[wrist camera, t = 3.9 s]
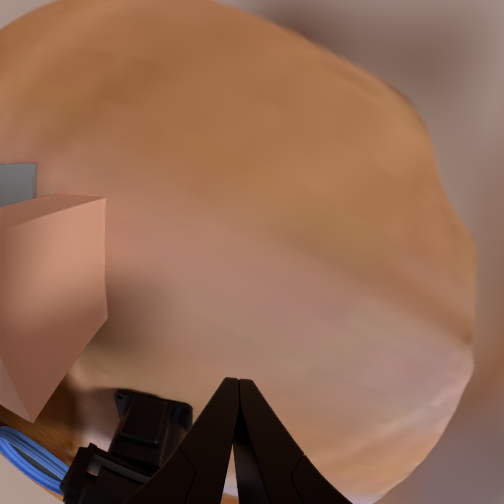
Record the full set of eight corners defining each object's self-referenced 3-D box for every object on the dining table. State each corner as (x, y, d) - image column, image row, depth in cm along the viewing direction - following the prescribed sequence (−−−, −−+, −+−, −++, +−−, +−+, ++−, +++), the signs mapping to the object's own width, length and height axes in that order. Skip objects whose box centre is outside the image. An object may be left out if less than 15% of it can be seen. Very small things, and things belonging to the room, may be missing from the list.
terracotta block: (108, 317, 17) (32, 423, 7) (62, 306, 16) (-20, 390, 7) (105, 197, 14) (-27, 242, 5) (55, 193, 14) (-69, 230, 5)
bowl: (70, 489, 29) (66, 501, 25) (-3, 434, 25) (-10, 445, 21) (100, 481, 25) (94, 497, 22) (3, 409, 21) (-8, 424, 18)
